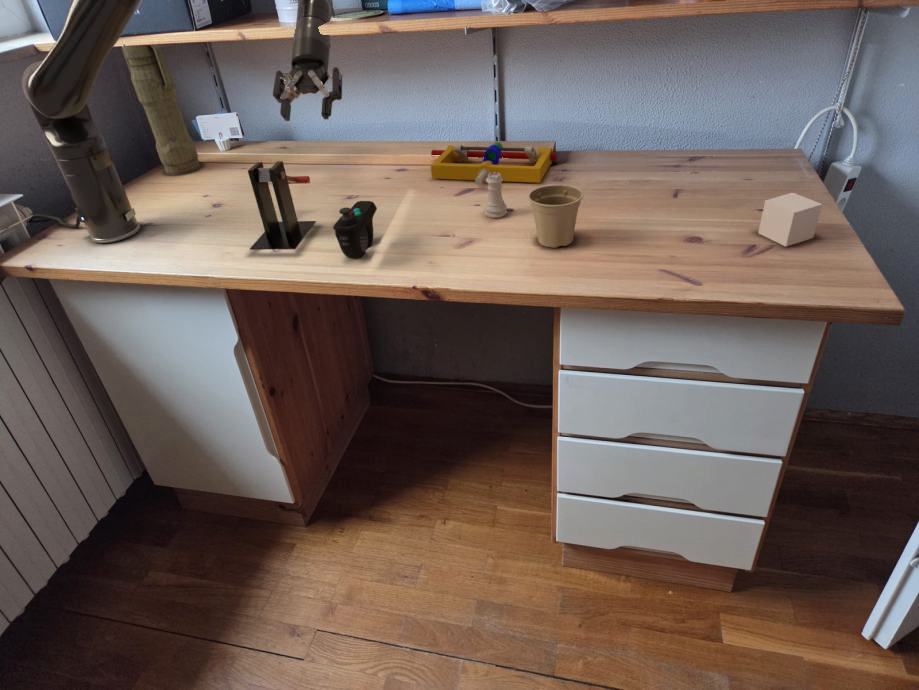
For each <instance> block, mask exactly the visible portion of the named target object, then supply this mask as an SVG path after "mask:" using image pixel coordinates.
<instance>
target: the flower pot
mask: <svg viewBox="0 0 919 690" xmlns="http://www.w3.org/2000/svg"><path fill="white" fill-rule="evenodd" d="M584 196H585V195H584V192H583V190H582V189H581V188H579V187H577V186H574V185H569V184H548V185H542V186H538V187H535V188H534V189H532V190H530V191H529V192H528V194H527V199H528V202H530V207H531V209H532V212H533V218H534V224H535V230H536V236H537V238H536V239H537V241H538V243H539V244H540V245H541V246H543V247H546V248H553V249H554V248H558V247H561V246H562V247H566V246H568V245H570V244H571V243H572V242H573V241H574V236H575V235H574V234H575V230H576V229H575V228H576V223H577V217H578V212H579V207H580V206H581V202H582V200H583V199H584Z"/></svg>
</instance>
